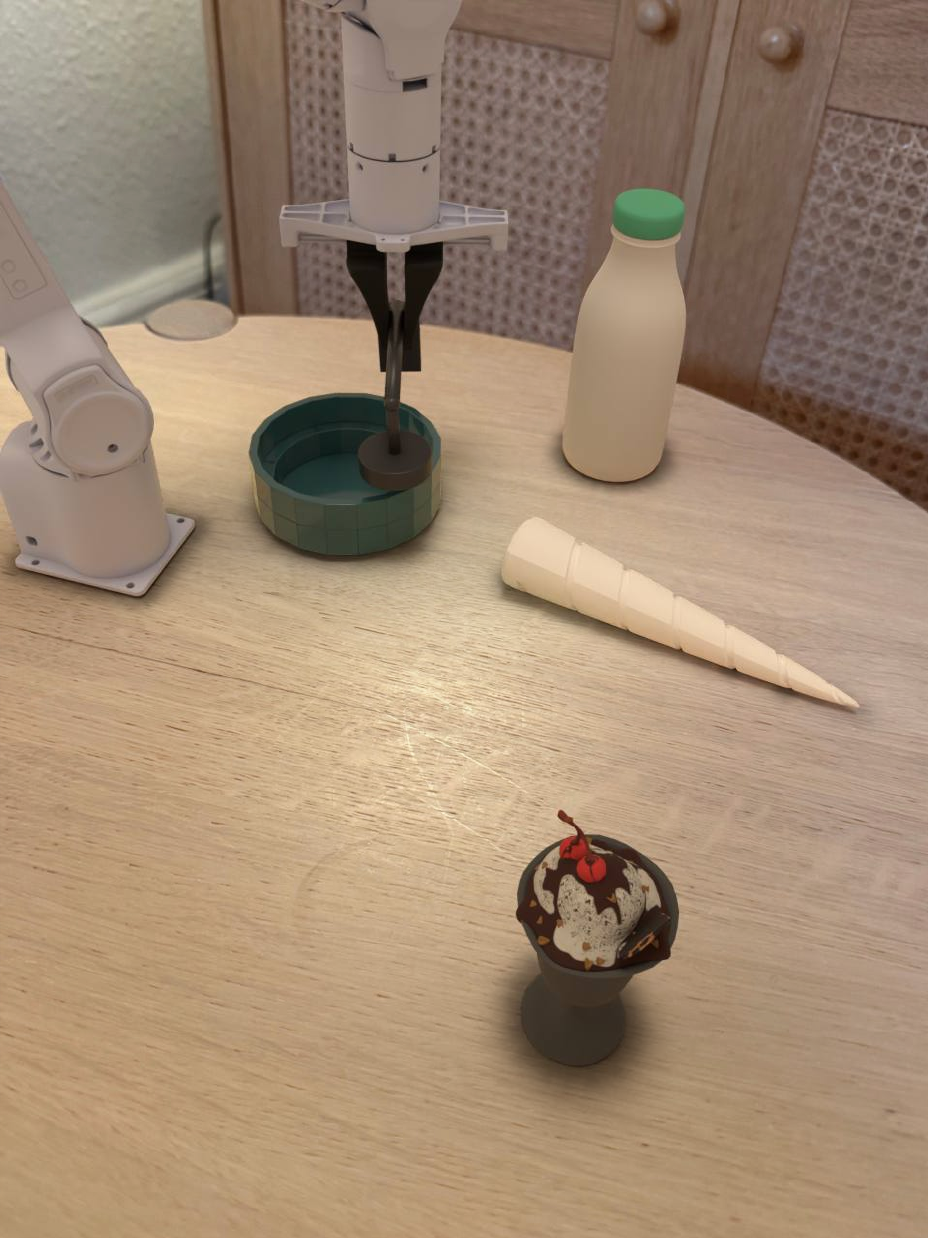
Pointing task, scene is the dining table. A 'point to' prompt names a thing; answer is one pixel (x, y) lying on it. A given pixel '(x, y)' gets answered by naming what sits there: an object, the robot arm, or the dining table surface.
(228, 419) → the dining table surface
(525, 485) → the dining table surface
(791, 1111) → the dining table surface
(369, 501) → the bowl
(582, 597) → the unicorn horn
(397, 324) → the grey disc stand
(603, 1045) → the sundae
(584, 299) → the milk bottle
